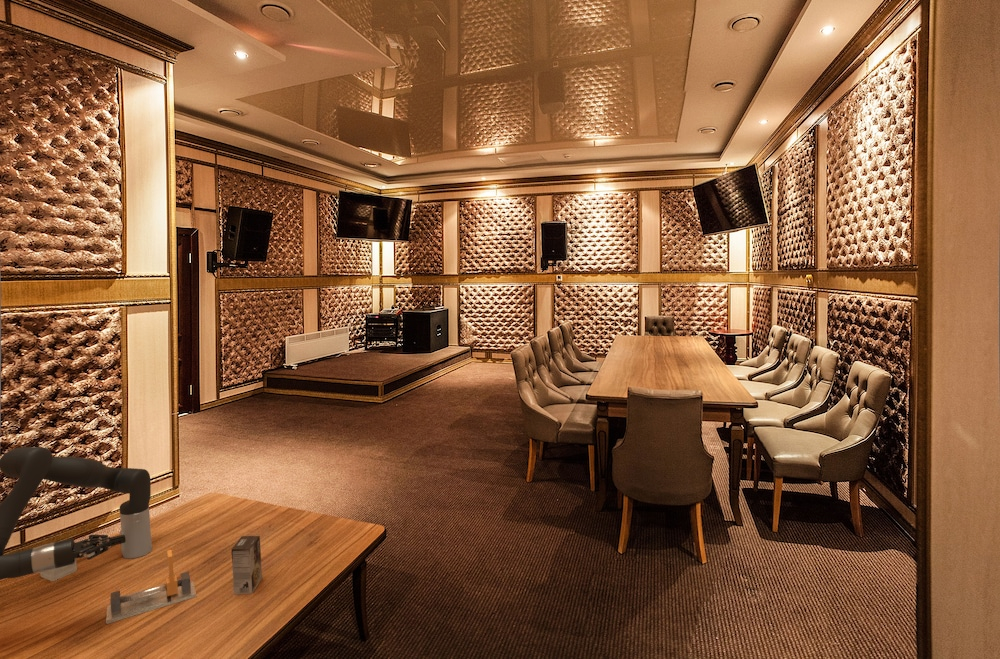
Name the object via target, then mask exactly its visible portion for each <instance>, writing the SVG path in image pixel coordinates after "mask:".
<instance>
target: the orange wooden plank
mask: <svg viewBox="0 0 1000 659" xmlns="http://www.w3.org/2000/svg"><path fill="white" fill-rule="evenodd" d="M166 553H167V568H168V569H167V570H168V576H167V577H165V584H166V585H167V596H170V595H173V594H177V593H178V584H177V581H178V578H177V574H175V575H174V573H175V572H174V561H173V560H174V559H173V551H172V549H168V550H167V552H166Z"/></svg>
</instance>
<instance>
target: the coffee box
mask: <svg viewBox="0 0 1000 659" xmlns="http://www.w3.org/2000/svg"><path fill="white" fill-rule="evenodd" d="M260 536H261V535H243V536H240V538H239V539H238V540H237V542H236V543H235V544H234V546H233V547H232V548H231V564H232V566H231V567H232V580H233V582H232V583H233V586H232V587H233V595H248V594H249V595H251V594H253V593H254V592H255V590H256V589H257V587H258V586H259V584H260V582H261V581H262V579H263V573H262V572H263V571H262V555H261V554H262V553H261V537H260Z"/></svg>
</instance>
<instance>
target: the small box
mask: <svg viewBox="0 0 1000 659" xmlns="http://www.w3.org/2000/svg"><path fill="white" fill-rule="evenodd" d="M77 571H78V566H77V558H76V559H75V563H74V564H72V565H68V566H64V567H60V568H56V569H52V570H48V571H44V572H39V574H40V578H42V579H45V580H47V581H50V582H52V581H53V582H55V581H57V579H58V580H60V579H62V578H64V577H67V576H69V575H71V574H73V573H75V572H77Z"/></svg>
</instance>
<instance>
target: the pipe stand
mask: <svg viewBox="0 0 1000 659" xmlns="http://www.w3.org/2000/svg"><path fill="white" fill-rule="evenodd" d="M177 584H178V593H177V594H173V595H170V596H167V585H166V583H164V584H161V585H157V586H154V587H153V586H152V587H151V588H148V589H143V590H140V591H135V592H132V593H129V594H126V595H121V590H116V591H113V592H110V604H109V605H107V606H106V620H105V623H106V625H108V624H111V623H112V624H113V623H114V622H117V621H121V620H124V619H128V618H131V617H134V616H137V615H140V614H141V615H142V614H143V613H147V612H151V611H154V610H158V609H160V608H164V607H167V606H171V605H173V604H177V603H179V602H180V603H181V602H183V601H186V600H187V601H188V600H190V599H193V598H197V592H196V587H195V582H194V580H193V581H191V576H190V571H189V570H188V571H184V572H182V573H180V579H177Z"/></svg>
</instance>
